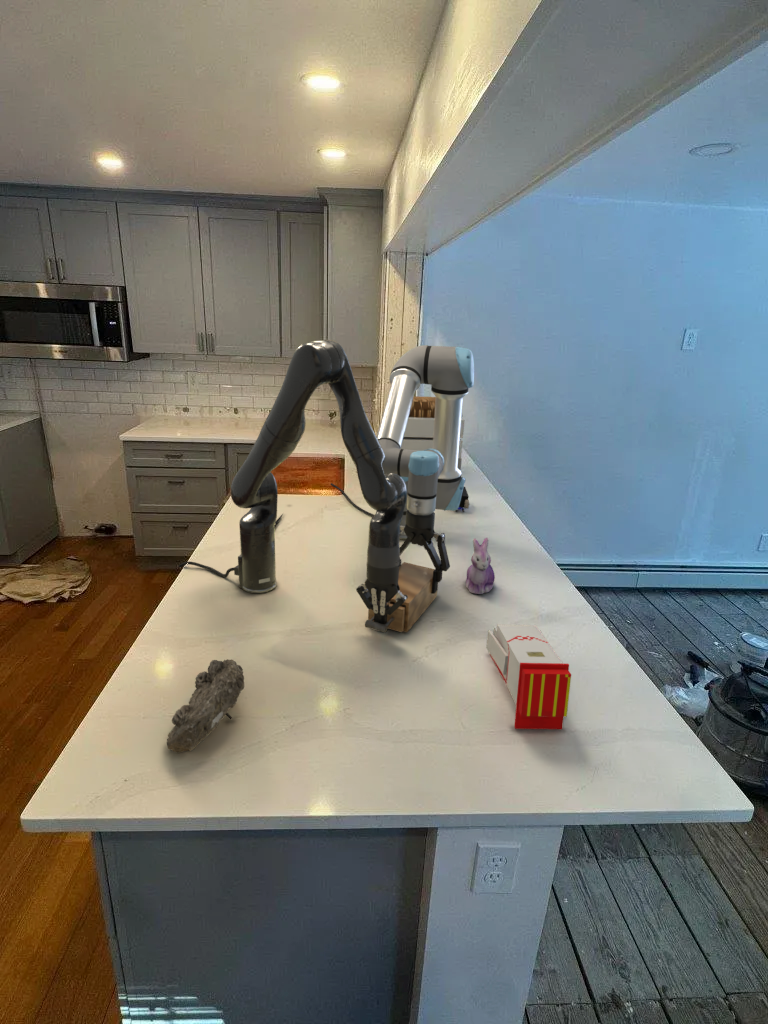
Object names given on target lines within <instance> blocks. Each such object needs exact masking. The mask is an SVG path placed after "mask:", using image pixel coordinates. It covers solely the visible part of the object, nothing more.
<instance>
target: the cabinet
mask: <svg viewBox="0 0 768 1024" xmlns="http://www.w3.org/2000/svg"><path fill="white" fill-rule="evenodd" d="M434 570H435V568H431V567H427V566H423V565H419V564H415V563H409V562H405V561H404V562H401V565H400V566H399V579H398V585H399V587H400V590H399V591H400V592H401V593H402V594H403V595H407V596H408V598H407V600H406V601H405V602H404V603H403V604H402V605H406V609H405V624H404V630H403V632H404V633H408V632H409V631H410V630H411V629H412V627H413V626H414V625H415V624H416V623H417V621H418V620H419V619H420V617H421V616H422V615H423V614H424V613H425V611H426V610H427V609H428V608H429V607H430V605H431V604H432V603H433V602H434V600H435V599H436V598H437V597H438V590H437V591H436V592H435V593H434V594H432V581H433V571H434ZM395 598H396V595H395V596H394V597H393V598H392V599H391V602H394V603H396V600H395Z"/></svg>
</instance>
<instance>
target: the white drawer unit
mask: <svg viewBox="0 0 768 1024" xmlns="http://www.w3.org/2000/svg"><path fill="white" fill-rule="evenodd" d="M435 399H436V396H415V395H414V398H413V402H412V406H411V410H410V414H409V418H408V422H407V426H406V430H405V434H404V438H403V442H402V446H401V449H406V450H417V451H424V450H426V449H433V433H434V416H435ZM464 429H465V419H464V418H463V414H462V415H461V427H460V440H459V453H458V465H457V468H458V469H459V470H460V471H461V472H462V461H463V460H462V453H463V442H464V441H463V440H462V439H463V438H464V431H465V430H464Z"/></svg>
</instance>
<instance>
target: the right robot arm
mask: <svg viewBox="0 0 768 1024" xmlns="http://www.w3.org/2000/svg"><path fill="white" fill-rule="evenodd" d="M474 360H475V359H474V354H473V352H472V350H471V349H470V348H467V347H460V346H448V345H447V346H445V345H428V344H424V345H423V344H422V345H417V346H415V347H412V348H411V349H409V350H407V351H406V352H405V353H403V355H401V356H400V357H399V358H398V360H397V361H396V362H395V363H394V365H393V367H392V369H391V372H390V375H389V383H390V386H389V387H390V388H389V390H388V394H387V398H386V402H385V405H384V408H383V411H382V415H381V418H380V423H379V426H378V429H377V433H376V437H377V439H378V441H379V443H380V445H381V447H382V449H383V451H384V454H385V460H384V462H383V463H382V468H383V471H384V475H386V474H390V473H393V474H397V475H399V476H400V477H401V478H402V479H403V480H404V482H405V484H406V488H407V498H406V504H405V508H404V512H403V516H402V519H401V523H400V540H399V541H403V542H402V544H401V545H400V546H399V547H400V556H401V555H402V554H403V553H404V552H405V550H406V549H407V548H408V546H409V545H410V544H412V545H418V546H419V547H423V548H424V550H425V551H426V552H427V554H428V557H429V558H430V561H431V562H432V565H433V567H434V569H435V570H434V571H433V581H432V594H434V593H435V592H436V591H437V592H438V590H439V587H438V586H439V583H440V582H441V581H442V580H443V572H447V571H448V570H449V569H450V568H451V564H450V559H449V555H448V550H447V546H446V542H445V541H446V533H445V532H441V533H439V532H436V531H435V519H436V518H435V517H436V513H435V512H436V510H440V511H444V512H445V511H451V512H452V511H453V512H454V511H455V510H457V511H458V508H459V505H460V501H461V497H462V492H463V488H464V487H465V483H466V478H465V477H463V476H462V470H461V471H460V470H459V469H458V468H457V465H458V453H459V440H460V439H461V438H460V427H461V418H462V417H461V415H462V416H463V400H464V397H466V396H467V395H468V394H469V389H471V388H473V387H474V386H475V385H474V383H475V361H474ZM421 385H430V386H431V387H430V392H431V393H432V394H433V395H434V397H436V399H435V416H434V433H433V449H426V450H424V451H417V450H406V449H401V446H402V442H403V438H404V434H405V430H406V426H407V422H408V418H409V414H410V410H411V406H412V402H413V398H414V396H415V393H416V392H417V391H418V390H419V388H420V386H421ZM330 486H332V487H333V488H335V489H336V490H338V491H339V492H340V493H341V494H342V495H343V496H344V497H345V498H346V500H347V501H348V503H350V504H351V505H352V506H353V507H355V508H356V509H357V510H359V511H360V512H362V513H364V514H366V515H368V516H370V517H372V518H373V516H374V515H375V514H374V513H371V512H369V511H367V510H365V509H363V508H362V507H359V506H358V505H357V504H356V503H354V501H352V500H351V498H350V497H349V496H348V495H347V493H346V492H345V491H344V490H343V489H341V488H340V487H339V486H337V485H336V484H333V483H331V482H330ZM455 512H456V511H455ZM433 538H434V539H435V542H436V544H437V549H436V548H435V545H434V542H433V540H432V539H433ZM437 550H438V551H437ZM401 564H402V559H401V558H400V562H399V566H400V565H401Z"/></svg>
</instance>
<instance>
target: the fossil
mask: <svg viewBox="0 0 768 1024" xmlns="http://www.w3.org/2000/svg"><path fill="white" fill-rule="evenodd" d="M243 670H244V669H243V667H242V665H240V664H237V662H236V661H235V660H234V659H232V658H231V659H227V658H226V659H224V660H223V661H222V660H217V659H212V660H211V661H210V663H209V665H208V666H207V671H201V672H199V673H198V674H197V675H196V676H195V680H194V684H195V685H194V687H195V689H194V690H193V693H192V694H191V697H190V698H189V700H188V704H184V705H182V706H181V707H180V709H177V710H176V711H175V713H174V715H173V716H172V718H171V723H172V724H173V727H172V730H171V731H170V732H168V734H167V738H166V741H167V742H166V745H167V749H168V750H169V751H173V752H174V753H176V754H178V753H182V752H188V751H189V752H192V751H193V750H195V748H196V747H197V746H199V744H200V743H201V742H203V741H204V740H205V739H206V738H207V737H208V736H209V735H210V734H211V733H212V732H214V730H215V729H217V727H218V726H219V724H220V722H221V721H222V720H223V719H224V718H225V716H226V717H227V719H229V720H233V717H232V715H230V714H229V710H230V709H231V708H234V706H235V704H236V703H237V702H238V699H239V697H240V695H241V693H242V691H243V690H245V689H244V688H245V675H244V671H243Z"/></svg>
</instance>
